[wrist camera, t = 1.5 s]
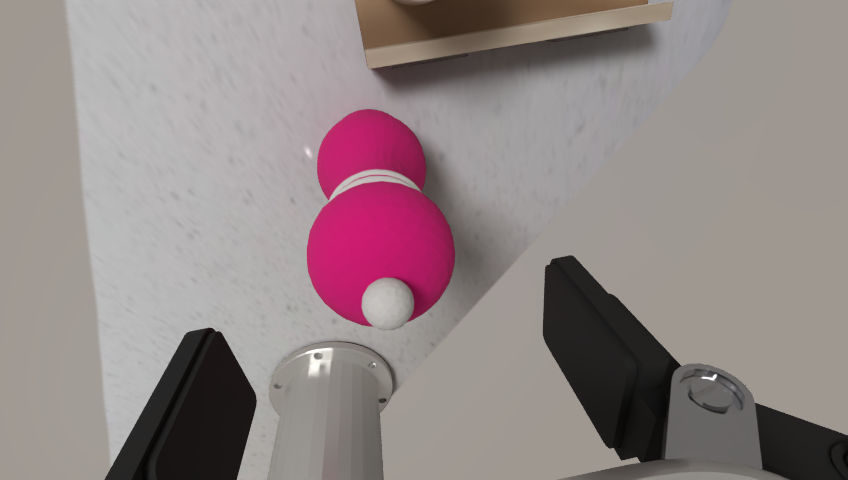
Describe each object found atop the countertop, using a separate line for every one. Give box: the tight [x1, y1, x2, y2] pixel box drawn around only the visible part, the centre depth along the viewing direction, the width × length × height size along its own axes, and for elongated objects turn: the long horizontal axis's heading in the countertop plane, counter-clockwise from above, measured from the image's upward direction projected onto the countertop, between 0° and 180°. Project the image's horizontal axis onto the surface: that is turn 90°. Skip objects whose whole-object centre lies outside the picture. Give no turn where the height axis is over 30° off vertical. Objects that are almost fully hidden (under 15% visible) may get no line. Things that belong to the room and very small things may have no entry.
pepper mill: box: [307, 109, 455, 330], centre depth 21 cm, size 7×7×20 cm
